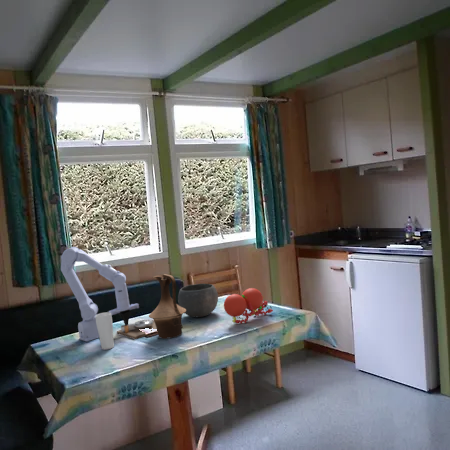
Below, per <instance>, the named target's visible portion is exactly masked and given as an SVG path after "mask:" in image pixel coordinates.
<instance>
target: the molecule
mask: <svg viewBox="0 0 450 450" xmlns="http://www.w3.org/2000/svg"><path fill="white" fill-rule="evenodd" d="M268 302H269V301H268V300H264V297H263V295H262V292H261V291H260V290H259V289H257V288H254V287H250V288H246V289H245V290H244V291H243V292H242V294H241V295H240V294H239V293H238V294H237V293H233V294H230V295H228V296H227V297H225V300H224V303H223V310H224V311H225V313H226V314H227V315H229V316H230V317H232V322H233V324H237V325H238V324H243V323H245V324H247V322H248V321H249V318H250V317H253V318H254V319H255V318H257V317H259V316H260V315H264V316H266V315H267V314H271V313H272V312H274V309H273V308H272V306H271V305H270V306H269V307H268V305H269V303H268ZM265 309H266V310H265ZM264 310H265V311H264ZM240 316H243V317H244V318H245V319H244V318H243V317H240Z"/></svg>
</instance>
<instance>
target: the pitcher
mask: <svg viewBox="0 0 450 450" xmlns="http://www.w3.org/2000/svg"><path fill="white" fill-rule="evenodd" d="M152 278H153V279H156V280H157V281H158V282H159V285H160V292H161V293H160V295H161V297H160V300H159V303H158V305H157V306H156V308H155V309H153V311H152V312H150V313H149V315H148V318H150V319H151V320H154V322H155V324H156V328H157V331H158V332H157V337H158V338H159V339H171V338H177V337H179V336H181V335H182V334H183V331H182V330H183V329H182V328H183V327H182V323H183V322H182V319H183V314H185V312H186V309H185V308H183V307H181V306H179V304H178V303H177V297H176V296H177V282H176V279H175V277H174V276H173V275H171V274H167V273H163V274H159V275H155V276H152ZM171 284H172V285H171ZM170 285H171V288H172V290H171V291H172V297H171V293H170Z"/></svg>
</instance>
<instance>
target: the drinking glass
mask: <svg viewBox="0 0 450 450" xmlns="http://www.w3.org/2000/svg"><path fill="white" fill-rule="evenodd" d="M112 316H113V315H111V313H110V312H109V311H107V312H100V313H97V315H96V316H95V317H96V325H97V329H98V334H99V340H100V347H101V350H104V351H106V350H111V349H113V348H114V346H115V343H114V342H115V341H114V328H113V327H114V326H113V317H112Z"/></svg>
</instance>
